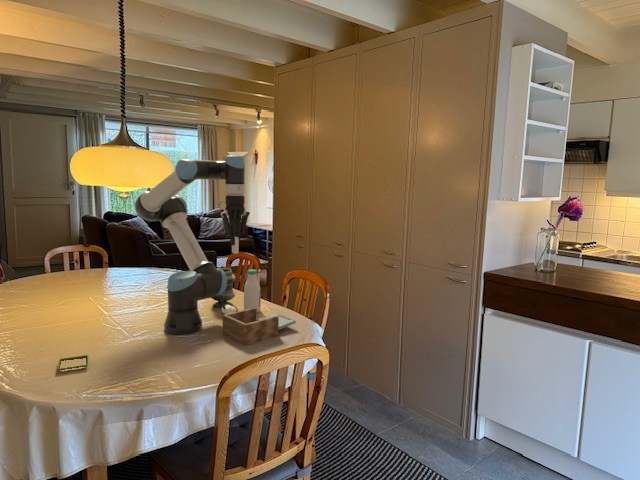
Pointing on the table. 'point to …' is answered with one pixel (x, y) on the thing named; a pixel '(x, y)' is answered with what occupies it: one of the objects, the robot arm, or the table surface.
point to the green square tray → (73, 359)
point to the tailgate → (282, 320)
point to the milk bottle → (252, 291)
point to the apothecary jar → (226, 290)
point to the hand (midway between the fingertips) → (235, 252)
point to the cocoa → (227, 307)
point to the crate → (249, 326)
